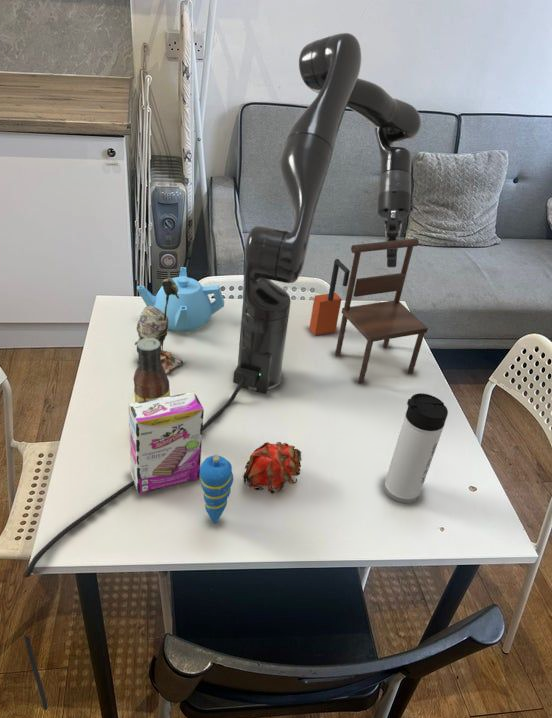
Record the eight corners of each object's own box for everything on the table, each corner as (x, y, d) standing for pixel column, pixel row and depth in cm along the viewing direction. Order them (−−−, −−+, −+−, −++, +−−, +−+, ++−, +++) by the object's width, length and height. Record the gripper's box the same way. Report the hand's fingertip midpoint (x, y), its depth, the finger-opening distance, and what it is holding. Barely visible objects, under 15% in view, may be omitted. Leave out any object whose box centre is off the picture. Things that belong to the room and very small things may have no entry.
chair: (416, 373, 141) (449, 263, 124) (356, 385, 136) (383, 271, 119) (388, 344, 149) (415, 236, 132) (330, 353, 144) (351, 243, 127)
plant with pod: (155, 343, 142) (153, 261, 129) (188, 366, 136) (190, 282, 124) (125, 356, 137) (120, 272, 125) (158, 380, 131) (157, 295, 119)
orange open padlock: (344, 343, 148) (360, 268, 136) (324, 346, 146) (337, 271, 134) (329, 325, 154) (342, 252, 142) (309, 328, 152) (321, 255, 140)
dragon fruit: (302, 477, 115) (247, 508, 110) (279, 435, 116) (223, 465, 111) (320, 469, 107) (262, 503, 103) (296, 425, 108) (237, 456, 103)
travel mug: (378, 477, 114) (403, 389, 102) (413, 477, 115) (443, 390, 102) (386, 503, 109) (414, 415, 97) (423, 503, 110) (456, 415, 98)
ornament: (225, 537, 101) (230, 470, 92) (193, 530, 101) (196, 463, 92) (232, 513, 105) (238, 447, 96) (202, 507, 106) (205, 440, 96)
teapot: (180, 345, 142) (181, 303, 135) (135, 318, 149) (134, 277, 142) (227, 320, 152) (229, 280, 145) (182, 296, 159) (183, 257, 152)
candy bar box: (138, 496, 106) (135, 422, 96) (130, 476, 110) (126, 402, 99) (201, 480, 110) (205, 407, 100) (192, 461, 114) (194, 389, 103)
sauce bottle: (176, 427, 120) (177, 339, 108) (162, 447, 116) (161, 358, 103) (145, 417, 122) (142, 329, 110) (130, 437, 117) (125, 348, 105)
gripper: (378, 204, 158) (376, 270, 157) (377, 183, 144) (374, 255, 143) (410, 204, 156) (407, 269, 156) (411, 182, 142) (408, 255, 142)
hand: (391, 262), depth 149 cm, fingers open, 8 cm apart
